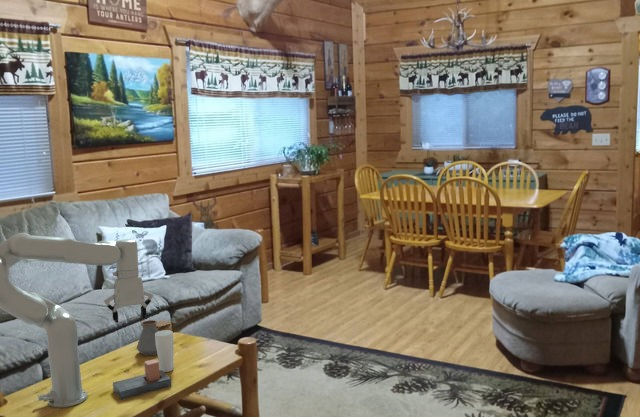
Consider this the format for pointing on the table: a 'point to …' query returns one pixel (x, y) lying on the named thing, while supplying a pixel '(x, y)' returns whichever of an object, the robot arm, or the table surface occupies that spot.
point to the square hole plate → (140, 385)
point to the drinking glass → (165, 350)
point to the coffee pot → (149, 337)
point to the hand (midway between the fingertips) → (129, 319)
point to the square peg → (152, 370)
